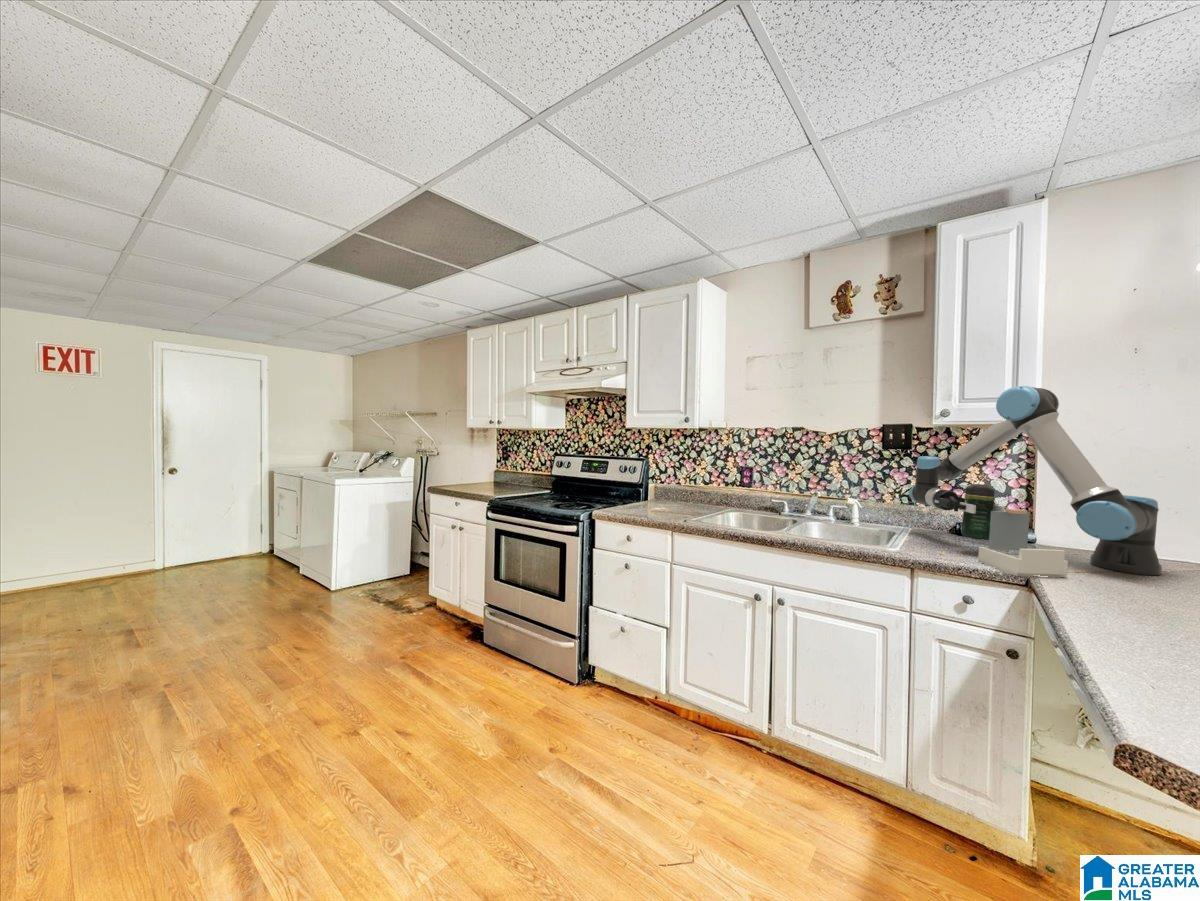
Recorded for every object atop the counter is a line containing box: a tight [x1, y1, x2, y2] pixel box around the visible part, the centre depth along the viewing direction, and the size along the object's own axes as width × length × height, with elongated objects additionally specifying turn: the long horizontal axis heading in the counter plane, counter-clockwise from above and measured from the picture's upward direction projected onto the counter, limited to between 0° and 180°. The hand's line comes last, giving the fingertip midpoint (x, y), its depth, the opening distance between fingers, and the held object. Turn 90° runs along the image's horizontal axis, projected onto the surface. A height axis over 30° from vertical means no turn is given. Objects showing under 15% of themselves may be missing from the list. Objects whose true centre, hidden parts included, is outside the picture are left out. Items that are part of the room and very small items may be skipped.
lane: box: [977, 546, 1069, 579], centre depth 145 cm, size 14×15×8 cm
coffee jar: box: [961, 483, 995, 541], centre depth 162 cm, size 10×8×19 cm
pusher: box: [988, 508, 1030, 551], centre depth 148 cm, size 11×4×13 cm, turn 88°
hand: (988, 510), depth 158 cm, fingers closed on coffee jar, 8 cm apart
